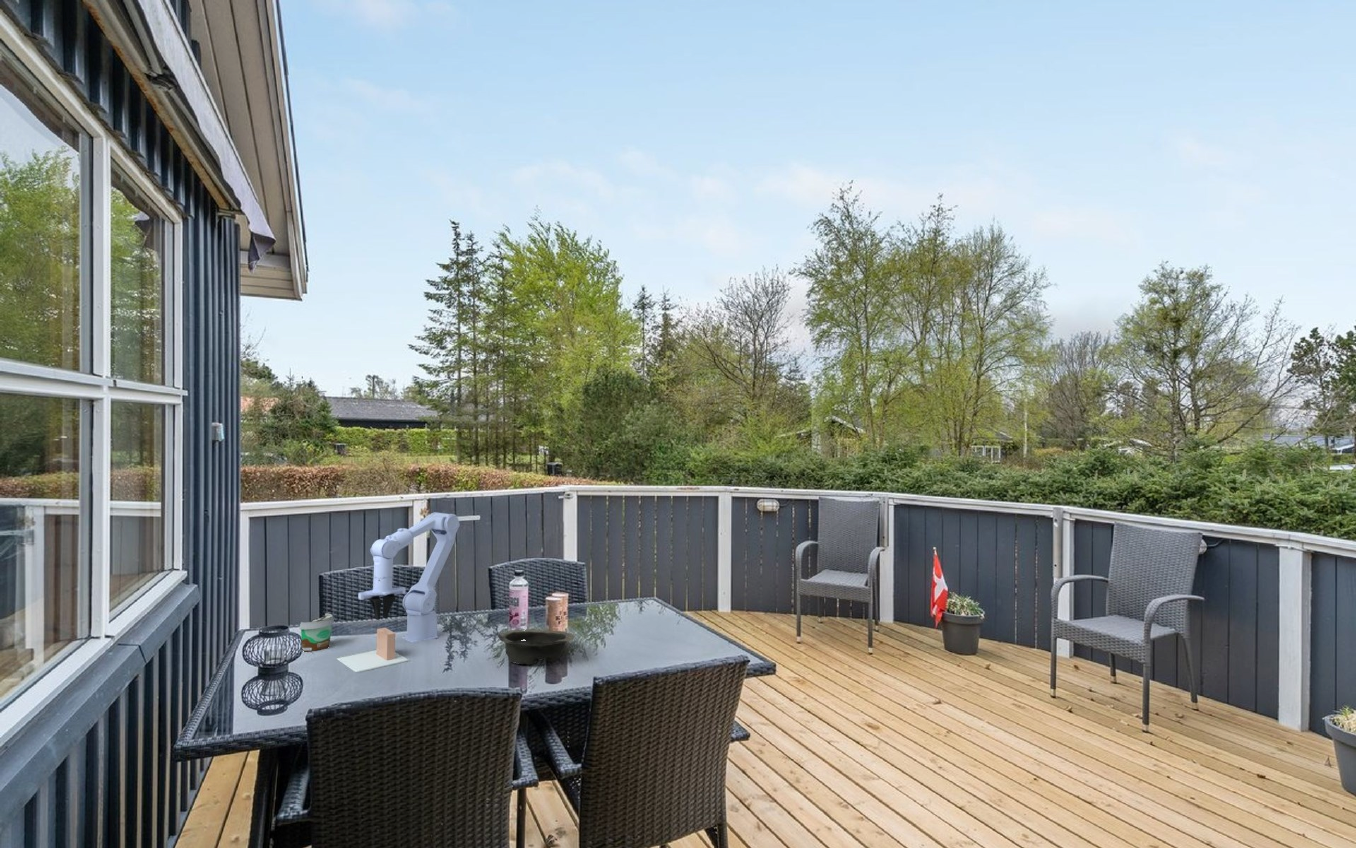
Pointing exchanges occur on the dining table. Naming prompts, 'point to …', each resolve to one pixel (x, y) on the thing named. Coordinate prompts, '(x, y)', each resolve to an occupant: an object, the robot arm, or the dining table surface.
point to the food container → (316, 633)
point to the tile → (385, 644)
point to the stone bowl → (534, 645)
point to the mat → (369, 661)
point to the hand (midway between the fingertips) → (381, 618)
